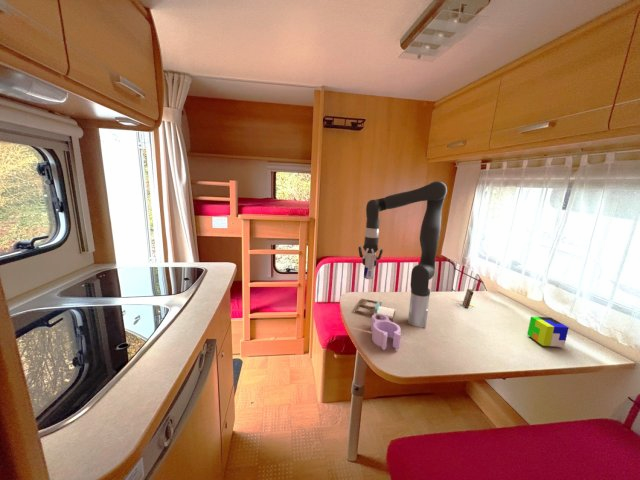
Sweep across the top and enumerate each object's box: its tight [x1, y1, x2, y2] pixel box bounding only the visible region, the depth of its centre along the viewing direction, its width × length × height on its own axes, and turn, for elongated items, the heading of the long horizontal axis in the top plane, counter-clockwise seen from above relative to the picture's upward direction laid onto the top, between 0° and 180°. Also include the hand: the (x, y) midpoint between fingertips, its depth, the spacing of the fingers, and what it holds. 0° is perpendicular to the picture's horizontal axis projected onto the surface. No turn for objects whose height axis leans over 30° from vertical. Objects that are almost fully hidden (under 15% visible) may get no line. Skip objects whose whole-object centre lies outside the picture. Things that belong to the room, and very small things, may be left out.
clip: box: [370, 314, 402, 351], centre depth 126 cm, size 20×12×7 cm, turn 6°
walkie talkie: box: [451, 282, 478, 309], centre depth 165 cm, size 13×13×18 cm
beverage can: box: [363, 252, 377, 280], centre depth 149 cm, size 6×6×15 cm
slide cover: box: [374, 301, 396, 318], centre depth 149 cm, size 10×10×4 cm
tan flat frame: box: [353, 298, 396, 322], centre depth 155 cm, size 22×19×2 cm
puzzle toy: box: [526, 316, 569, 348], centre depth 130 cm, size 10×10×10 cm
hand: (369, 265), depth 149 cm, fingers closed on beverage can, 5 cm apart
